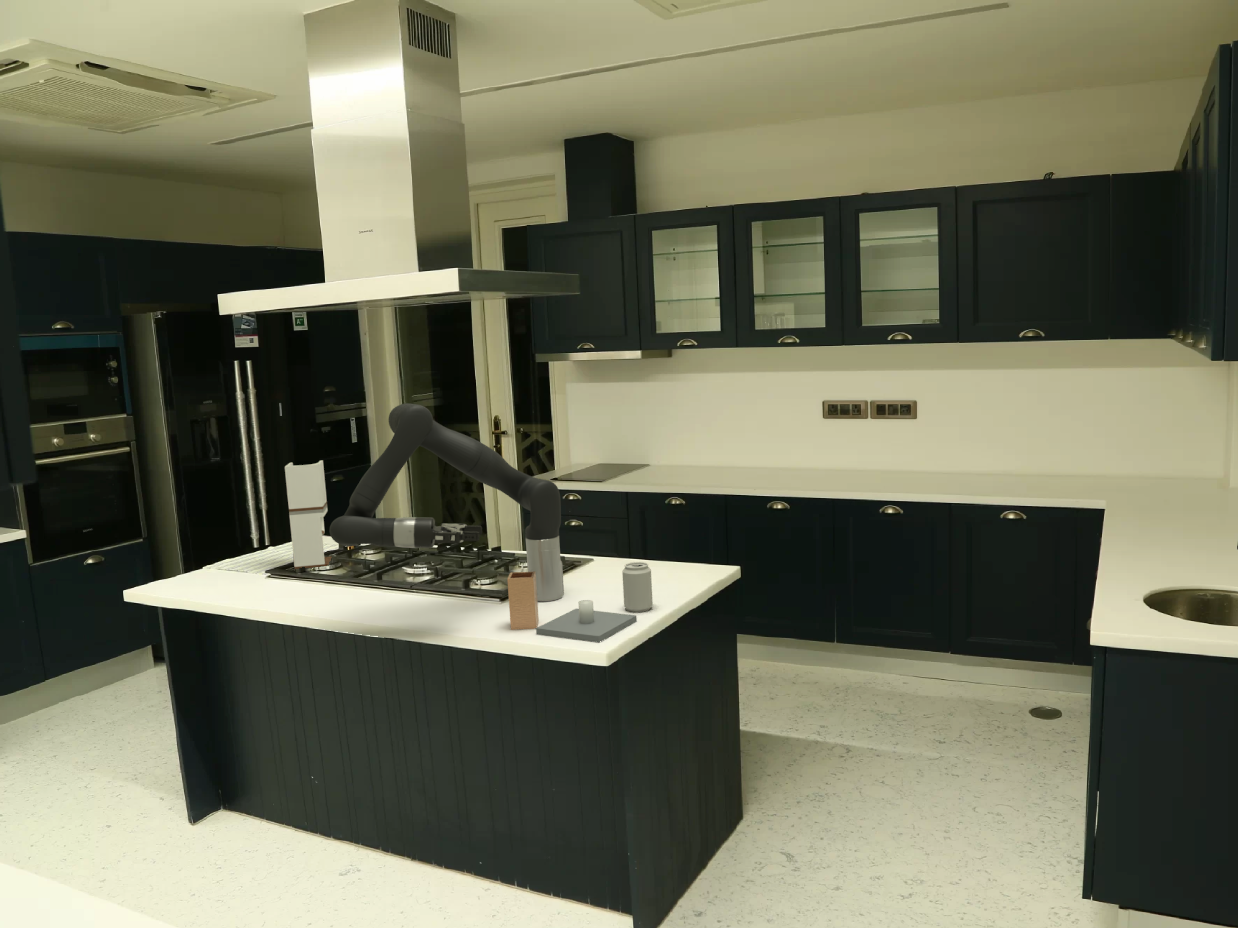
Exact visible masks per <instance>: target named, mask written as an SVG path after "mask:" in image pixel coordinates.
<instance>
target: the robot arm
mask: <svg viewBox="0 0 1238 928" xmlns="http://www.w3.org/2000/svg"><path fill="white" fill-rule="evenodd" d="M388 425H389V428H390V429H391V431H392V432H393V436H392V438H391V441H390V442H389V444H388V445H387V446H386V448H385V450H384V451H383V452H382V454H381V455H380V456H379V457H378V458H377V459H376V460H375V461H374V462H373V463H372V465H371V466H370V467H369V468H368V470H367V471H366V472H365V473H364V474H363V475H362V477H361V479H360V481H359V483H358V484H357V486H356V487H355V489H354V490H353V492H352V494H351V496H350V498H349V506H348V507H347V510H346V511H345V513H344V515H342V516H338V517H337V518H335V519H334V520H333V521H332V522H331V524H330V526H329V535H330V538H331V539H332V540H333V542H335V543H336V544H338V545H340V546H343V547H347V548H349V547H350V548H351V547H354V546H356V545H373V546H376V547H377V546H378V547H398V548H411V549H412V548H413V549H414V548H415V549H431V548H434V546H435V543H436V544H455V545H456V544H457V545H458V544H461V543H463V542H479V541H480V536H481V535H482V534H483V527H482V526H481V525H467V524H466V523H464V522H462V523H449V522H448V523H444V522H443V523H440V525H439V526H436V519H435V518H434V517H428V516H427V517H418V516H416V517H415V516H411V517H410V516H408V517H407V516H406V517H405V516H403V517H376V518H375V517H374V515H375V513H376V511H377V510H378V508H379V506H380V504H382V503H381V502H382V501H383V499H384V498H385V496H386V494H387V493H388V491H389V489H390V488H391V486H392V484H393V483H394V481H395V479H396V478H397V476H399V475H398V474H399V473H400V472H401V470H402V469H403V468H404V466H405V464H407V461H409V460H410V458H411V457H412V455H413V454H414V453H415V451H416V450H417V449H418V448H419V447H422V448H424V449H426V450H428V451H429V452H431V453H432V454H434V455H436V456H437V457H439V458H440V459H441V460H443V461H444V462H446V463H447V464H448V465H451V466H452V467H454V468H455V469H457V470H458V471H459V472H461V473H463V474H465V475H466V476H468V477H471V478H472V479H474V480H476V481H478V482H480V483H482V484H483V485H485V486H488V487H491V488H493V489H495V490H498V491H500V492H502V493H503V494H505V495H507V497H509V498H510V499H512V500H513V501H515V502H516V503H517V504H518V505H520V506H521V507H523V509H526V510H527V511H530V522H529V525H527V526H526V527H525V529H524V537H525V549H526V550H525V551H526V561H527V566H526V567H527V572H533V571H536V586H537V602H551V601H552V602H553V601H556V600H560V599H561V598H562V597H563V595H564V594H565V588H564V572H563V571H564V570H563V561H562V560H561V548H560V528H561V524H562V513H561V512H562V509H561V508H562V507H561V505H562V504H561V503H562V502H561V494H560V490H559V488H558V486H557V485H556V483H554V482H553V481H550V480H547V479H543V478H537V477H534V476H531V475H529V474H527V473H524V472H522V471H520V470H518V469H517V468H515V467H513V466H512V465H510V464H509V463H508V461H507V460H505V459H504V458H503V456H502V455H500V454H499V453H498V452H497V451H496V450H494V449H492V448H491V447H489V446H488V445H486V444H484V443H482V442H481V441H479V440H477V439H475V438H473V437H470V436H468V435H465V434H464V433H462V432H458V431H456V430H454V429H450V428H448V427H445V426H443V425H442V424H440V423H438V422H437V421H436V420H434V418H433V414H432V412H431V411H430V409H428V408H427V407H425V406H424V405H421V404H415V403H402V404H398V405H397V406H394V408H392V409H391V411H390V412H389V415H388Z"/></svg>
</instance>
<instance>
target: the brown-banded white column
mask: <svg viewBox="0 0 1238 928" xmlns="http://www.w3.org/2000/svg"><path fill="white" fill-rule="evenodd" d="M324 469H325V468H324V460H319V461H318V462H316V463H312V464H303V465H302V464H299V465H294V463H293V462H289V463H287V464H286V465H285V466H284V472H285V473H284V474H285V483H286V484H285V485H286V495H287V502H288V512H289V513H288V514H289V515H288V516H289V525H290V534H291V536H290V537H291V543H292V555H293V566H294V570H295V569H299V568H302V567H305V568H313V567H320V566H327V565H329V562H330V561H331V558H332V559H333V557H332V556H325V552H324V539H323V536H324V535H325V533H326V532H325V521H324V520H325V519H324V517H325V516H326V514H327V513H328V511H329V510H328V501H327V489H326V480H325V479H326V478H325V470H324Z"/></svg>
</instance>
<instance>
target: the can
mask: <svg viewBox="0 0 1238 928" xmlns="http://www.w3.org/2000/svg"><path fill="white" fill-rule="evenodd" d="M652 584H653V583H652V570H651V568H650V567H649V563H647V562H643V561H633V562H629V563H625V564H624V568H623V569H622V589H623V591H622V593H623V607H624V608H625V609H626V610H627V611H628V612H632V613H641V612H642V613H643V612H647V611H649V610H650V609H651V608H652V607H653V603H654V602H653V589H652V587H653V586H652Z"/></svg>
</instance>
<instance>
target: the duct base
mask: <svg viewBox="0 0 1238 928" xmlns="http://www.w3.org/2000/svg"><path fill="white" fill-rule="evenodd" d="M636 622H637V615H635V614H629V613H628V614H627V613H619V612H618V613H617V612H611V611H610V612H608V611H601V610H594V601H593V600H590V599H585V600H579V601H578V608H574V609H572V610H570V611H568V612H566V613H564V614H562V615H560V616H558V617H556V618H554V619H552V620H550V621H548V622H546V623H544V624H541V625H540V626H537V628H536V629H535V631H536V632H535V634H536V635H540V636H546V637H547V636H549V637H554V636H555V637H557V638H562V637H564V639H569V638H572V639H571V640H577V639H582V640H581V641H585V640H589V641H588V642H592V641H597V642H596V643H601V642H602V640H603V641H605V640H606V639H609V638H610V637H611V635H612V636H613V635H615V634H616V633H618V631H619V632H620V631H622V630H624V629H626V628H627V627H630V626H631V625H633V624H634V623H636ZM609 636H610V637H609ZM555 637H554V638H555ZM604 639H605V640H604ZM600 641H601V642H600Z"/></svg>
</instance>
